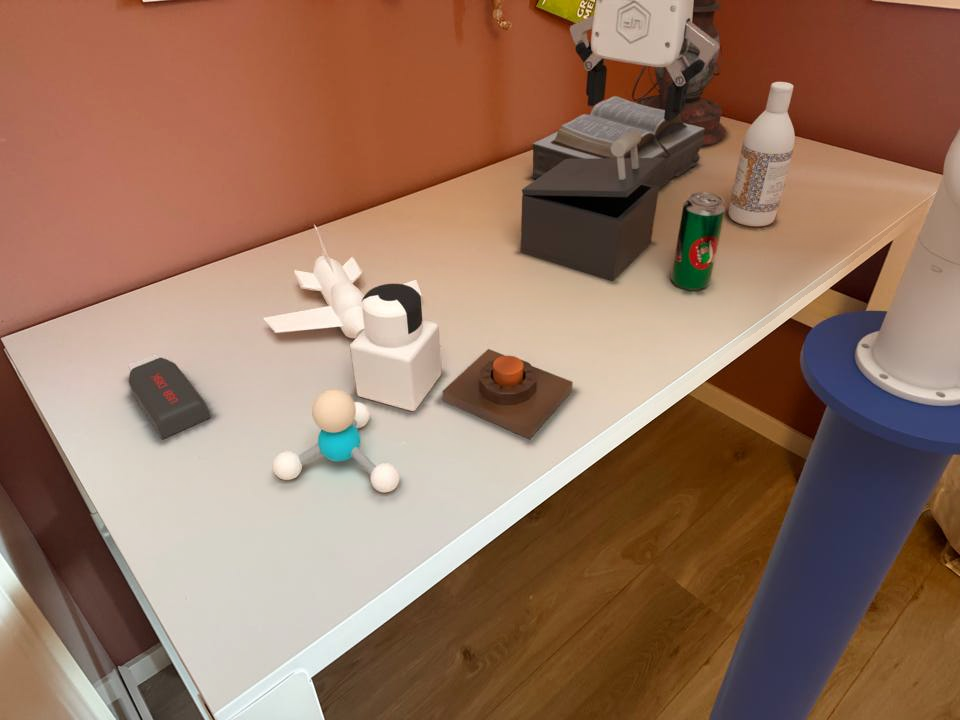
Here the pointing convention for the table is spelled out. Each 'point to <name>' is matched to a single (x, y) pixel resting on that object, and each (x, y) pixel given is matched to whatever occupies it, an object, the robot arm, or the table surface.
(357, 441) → the molecule model
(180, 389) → the usb drive
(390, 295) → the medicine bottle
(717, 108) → the lantern
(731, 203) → the bath foam
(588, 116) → the bible
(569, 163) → the door
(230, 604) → the table surface
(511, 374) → the button
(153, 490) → the table surface
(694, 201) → the soda can
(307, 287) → the airplane model
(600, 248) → the dark grey box
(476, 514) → the table surface
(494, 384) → the brown base plate
